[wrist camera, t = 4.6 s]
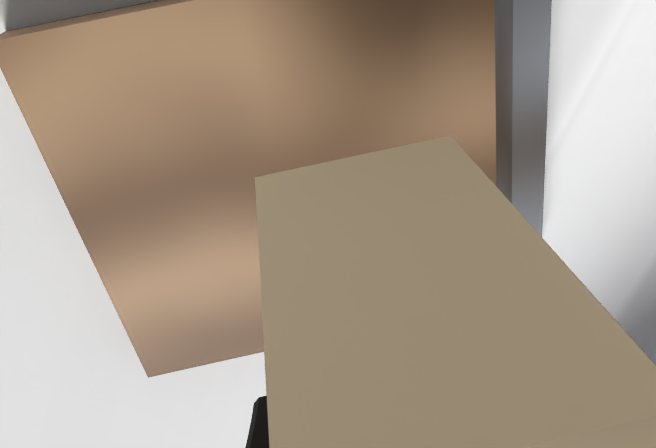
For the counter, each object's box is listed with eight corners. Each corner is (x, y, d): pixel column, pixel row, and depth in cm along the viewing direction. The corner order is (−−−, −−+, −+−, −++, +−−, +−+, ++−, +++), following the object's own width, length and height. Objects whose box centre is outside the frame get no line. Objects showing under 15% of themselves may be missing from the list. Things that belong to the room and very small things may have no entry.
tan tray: (514, 273, 22) (542, 313, 20) (152, 354, 21) (143, 403, 19) (517, -72, 15) (560, -67, 13) (4, 31, 15) (-32, 53, 13)
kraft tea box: (451, 135, 11) (693, 407, 5) (463, 352, 14) (625, 680, 8) (254, 176, 11) (273, 505, 5) (310, 387, 14) (361, 744, 8)
